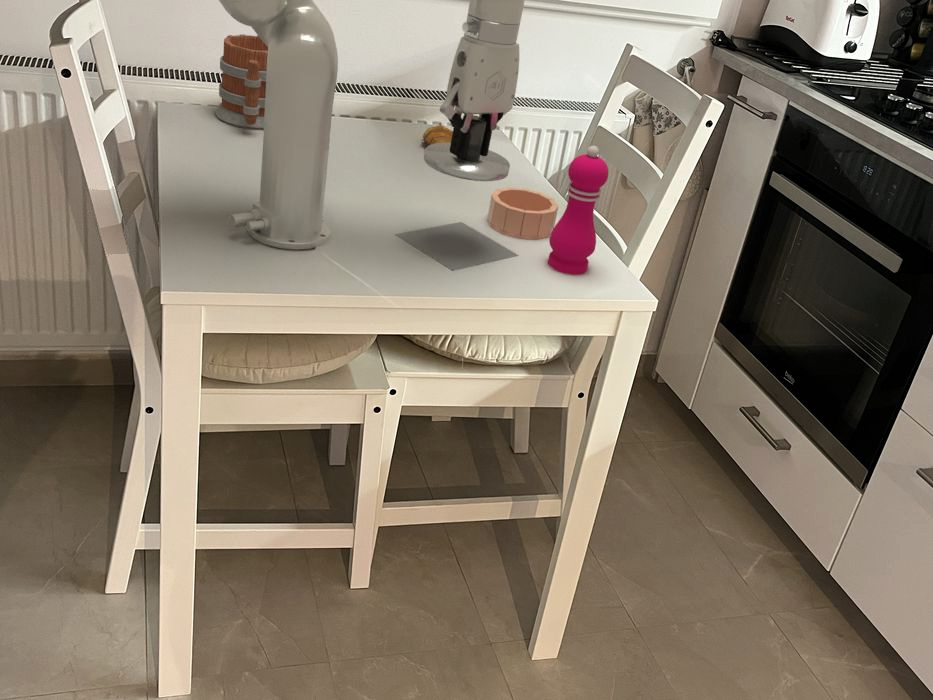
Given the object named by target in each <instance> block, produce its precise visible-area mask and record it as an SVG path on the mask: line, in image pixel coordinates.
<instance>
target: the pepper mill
mask: <svg viewBox="0 0 933 700" xmlns="http://www.w3.org/2000/svg"><path fill="white" fill-rule="evenodd" d="M599 153H600V149H599V147H598V146H596V145H591V146H588V148H587V151H586V154H580V155H577V156H576V157H574V158H573V160H571V162H570V165H569V166H568V171H567V176H568V178H569V181H570V183H568V186H567V187H568V189H567V191H566V193H567V195H568V200H567V205H566V207H565V210H564V212H563V214H562V215H561V217H560V218H559V220H558V221H557V223H555V225H554V229H553V230H552V233H551V235H550V236H549V241H548V242H549V246H550V248H551V250H552V251H550V253H549V255H548V259H547V265H548V266H549V267H550V268H551V269H552V270H554V271H556V272H559V273H563V274H566V275H573V276H577V275H583V274H585V273H586V272H587V271H588V265H589V263H590V261H589V259H588V258H589V257H590V256H591V255H593V253H594V252H595V250H596V247H597V245H596V244H597V234H596V227H595V223H594V212H595V210H594V209H595V205H596V204H597V203H596V202H597V201H599V199H600V198H601V197H600V195H601V194H602V190H601V187H603V186H604V185H606V183H607V181H608V179H609V168H608V164H607V163H606V162H605V160H604V159H602V158H601V157H600V156H599Z"/></svg>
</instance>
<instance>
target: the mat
mask: <svg viewBox="0 0 933 700" xmlns="http://www.w3.org/2000/svg"><path fill="white" fill-rule="evenodd" d="M395 236H396V237H398V238H400V239H401V240H403V241H404V242H406V243H408V244H410V245H411V246H412V247H414V248H416V249H417V250H419V251H420V252H422V253H423V254H425V255H426V256H428V257H430V258H431V259H433V260H434V261H436V262H438V263H439V264H440V265H442V266H444V267H445V268H448V270H450V271H452V272H453V271H457V270H462V269H467V268H471V267H475V266H480V265H484V264H488V263H493V262H497V261H498V262H499V261H502V260H506V259H510V258H514V257H515V258H516V257H519V254H517V253H516V252H514V251H512V250H511V249H509V248H507V247H505V246H503V245H501V244H500V243H499V242H496V241H494V240H493V239H492V238H490V237H488V236H486V235H485V234H483V233H481V232H480V231H478V230H477V229H474V228H472V227H471V226H469V225H467V224H466V223H464V222H462V221H459V222H453V223H448V224H442V225H438V226H432V227H427V228H422V229H416V230H411V231H405V232H400V233H399V232H398V233H395Z"/></svg>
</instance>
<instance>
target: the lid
mask: <svg viewBox="0 0 933 700" xmlns="http://www.w3.org/2000/svg"><path fill="white" fill-rule="evenodd" d="M463 117H464V115H463V116H462V118H463ZM486 124H487V120H486V119H484V118H482V117H479V115H476V114H473V116H472V119H471V123H470V126H469V129H468V131H467V132H469V133H470V140H469V146H468V151H467V156H466V158H464V159H461V158H459V157H458V156H456V155H454V154H452V153H450V145H451V143H435V144H432V145H429V146H426V147H425V149H424V155H423V161H424V163H426V165H428V166H429V167H430V168H432V169H433V170H436V171H437V172H439V173H441V174H443V175H447V176H450V177H453V178H457V179H462V180H465V181H466V180H468V181H474V182H475V181H476V182H495V181H501V180H504V179H506V178H507V177H508V175H509V171H510V167H511V163H510V162H509V160H508V159H507V158H505V157H504V156H502V155H501V154H499V153H497V152H495V151H493V150H490V149H489V150H488V155H487V156H482V155H480V154H481V149H482V144H483V139H484V134H485V129H486Z"/></svg>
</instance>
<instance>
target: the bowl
mask: <svg viewBox="0 0 933 700" xmlns="http://www.w3.org/2000/svg"><path fill="white" fill-rule="evenodd" d="M558 210H559V204H558V203H557V201H556V200H555V199H554V198H552V197H550V196H548V194H547V195H546V194H544V193H542V192H539V191H536V190H532V189H528V188H520V187H519V188H518V187H503V188H497V189H495V191H493V192H492V193H491V196H490V201H489V208H488V214H487V222H488V224H489V226H490V227H491V228H492V229H493V230H495V231H496V232H498V233H500V234H502V235H506V236H508V237H512V238H515V239H516V238H517V239H520V240H521V239H522V240H532V241H533V240H541V239H546V238H550V236H551V233H552V231H553V229H554V227H555V225H556V220H557V215H558Z"/></svg>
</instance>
